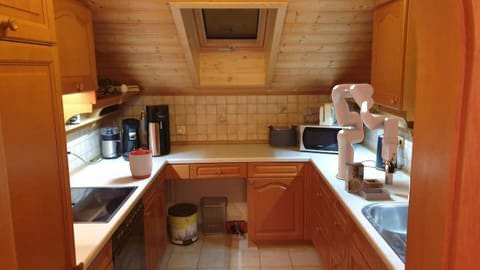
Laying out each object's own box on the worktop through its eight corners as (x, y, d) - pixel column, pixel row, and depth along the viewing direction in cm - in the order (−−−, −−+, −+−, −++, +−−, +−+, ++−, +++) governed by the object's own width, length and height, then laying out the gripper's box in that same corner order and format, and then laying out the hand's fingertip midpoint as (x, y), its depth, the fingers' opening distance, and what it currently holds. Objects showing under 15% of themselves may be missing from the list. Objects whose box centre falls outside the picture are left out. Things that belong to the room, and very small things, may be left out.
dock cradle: (359, 194, 211) (359, 188, 211) (382, 193, 212) (382, 188, 211) (365, 199, 201) (365, 194, 201) (389, 199, 202) (389, 193, 201)
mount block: (361, 187, 223) (361, 179, 223) (376, 187, 224) (376, 178, 223) (366, 192, 214) (367, 183, 214) (382, 191, 215) (382, 183, 214)
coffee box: (359, 189, 220) (360, 162, 218) (363, 192, 214) (364, 164, 212) (344, 189, 220) (344, 162, 218) (347, 192, 214) (348, 165, 211)
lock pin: (383, 183, 214) (384, 160, 212) (390, 182, 214) (391, 160, 212) (386, 185, 210) (387, 162, 208) (393, 184, 210) (394, 162, 208)
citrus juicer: (130, 174, 263) (129, 145, 260) (155, 173, 264) (154, 145, 260) (124, 180, 248) (122, 150, 245) (150, 179, 248) (149, 149, 245)
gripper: (377, 137, 217) (376, 168, 219) (390, 142, 200) (388, 176, 203) (390, 137, 217) (389, 168, 220) (404, 142, 200) (402, 175, 203)
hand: (389, 171), depth 211 cm, fingers closed on lock pin, 4 cm apart
